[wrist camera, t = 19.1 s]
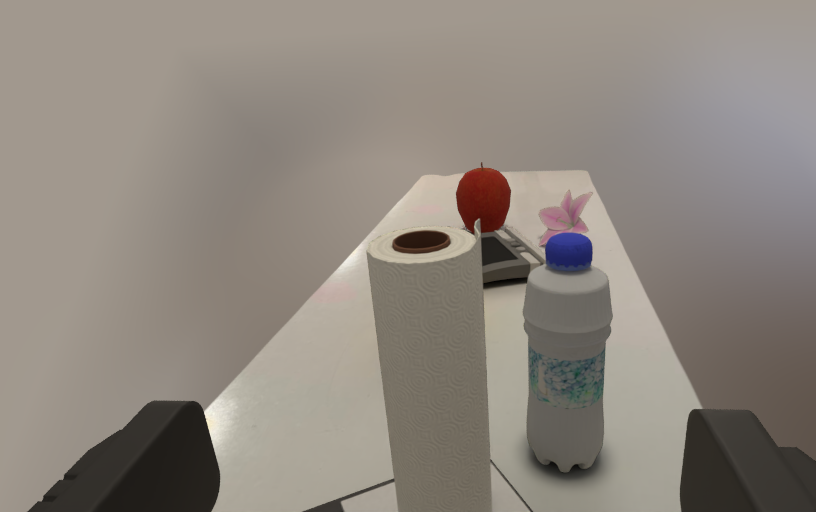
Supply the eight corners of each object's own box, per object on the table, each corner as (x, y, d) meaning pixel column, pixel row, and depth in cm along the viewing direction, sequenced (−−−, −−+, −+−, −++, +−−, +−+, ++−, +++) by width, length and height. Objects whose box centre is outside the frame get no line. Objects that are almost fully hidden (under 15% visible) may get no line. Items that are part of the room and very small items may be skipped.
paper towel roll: (409, 583, 34) (371, 266, 26) (396, 508, 39) (361, 230, 32) (520, 560, 34) (513, 246, 27) (491, 490, 40) (479, 214, 33)
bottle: (563, 418, 51) (567, 216, 44) (622, 459, 45) (637, 234, 38) (508, 447, 48) (503, 234, 41) (564, 494, 42) (569, 257, 35)
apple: (516, 239, 99) (515, 164, 94) (462, 244, 99) (458, 169, 94) (505, 223, 108) (503, 154, 104) (455, 227, 108) (451, 159, 104)
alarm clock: (552, 259, 79) (444, 266, 77) (549, 287, 81) (444, 296, 78) (512, 226, 95) (421, 231, 93) (510, 251, 97) (421, 257, 94)
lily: (540, 238, 101) (520, 200, 96) (602, 214, 97) (584, 173, 92) (551, 280, 92) (529, 241, 87) (619, 255, 88) (601, 212, 83)
